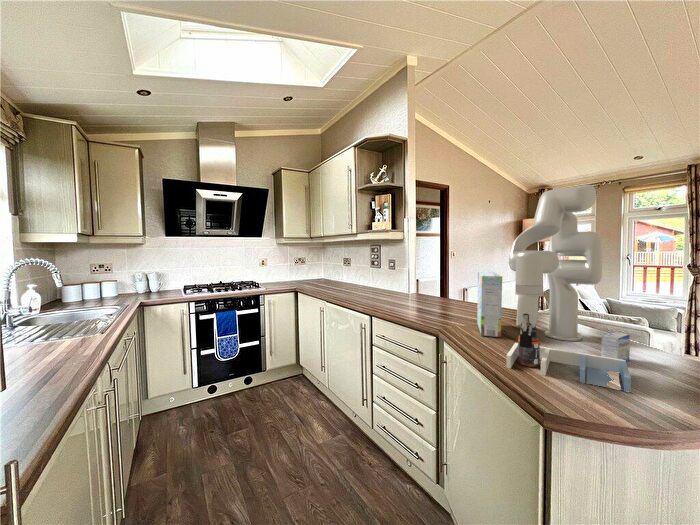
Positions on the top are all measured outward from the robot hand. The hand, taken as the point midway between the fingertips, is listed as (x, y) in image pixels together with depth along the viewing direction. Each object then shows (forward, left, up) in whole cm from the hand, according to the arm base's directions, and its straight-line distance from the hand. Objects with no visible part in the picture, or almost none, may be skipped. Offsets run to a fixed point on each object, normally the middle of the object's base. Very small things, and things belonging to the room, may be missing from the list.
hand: (528, 343), depth 97 cm
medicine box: (-19, +22, -7) cm, 30 cm away
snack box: (-34, -20, -7) cm, 40 cm away
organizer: (-1, +9, -7) cm, 12 cm away
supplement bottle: (-1, 0, -7) cm, 7 cm away
